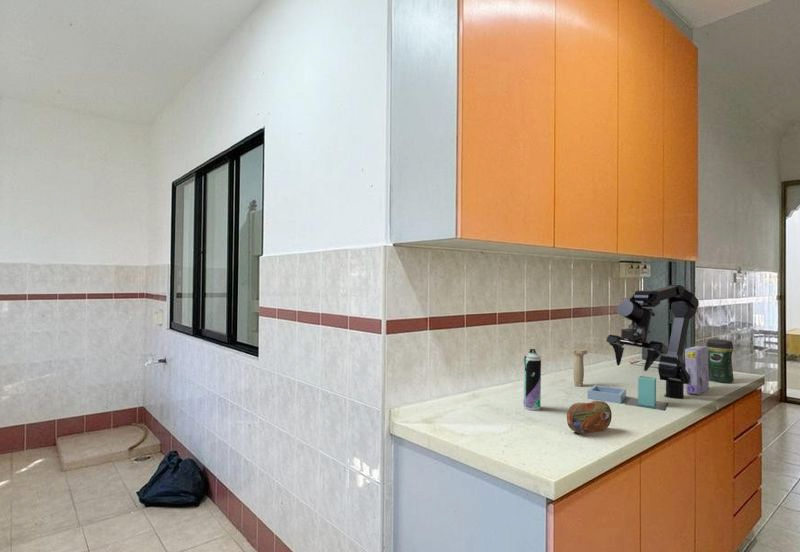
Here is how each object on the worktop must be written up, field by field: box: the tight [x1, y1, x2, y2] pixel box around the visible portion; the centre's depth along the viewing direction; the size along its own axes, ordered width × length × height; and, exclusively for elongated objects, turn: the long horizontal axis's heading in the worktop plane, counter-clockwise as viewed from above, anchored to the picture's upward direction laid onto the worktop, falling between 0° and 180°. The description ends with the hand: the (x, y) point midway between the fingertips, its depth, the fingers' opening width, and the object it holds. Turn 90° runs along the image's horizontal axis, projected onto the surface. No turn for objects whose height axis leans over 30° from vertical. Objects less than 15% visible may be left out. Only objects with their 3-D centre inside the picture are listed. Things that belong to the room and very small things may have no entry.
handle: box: [570, 347, 588, 387], centre depth 189 cm, size 5×6×15 cm
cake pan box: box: [684, 345, 710, 396], centre depth 183 cm, size 19×5×18 cm, turn 135°
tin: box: [566, 400, 613, 435], centre depth 130 cm, size 15×3×8 cm, turn 114°
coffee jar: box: [706, 338, 734, 384], centre depth 203 cm, size 10×8×19 cm
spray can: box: [523, 348, 542, 411], centre depth 153 cm, size 6×6×20 cm
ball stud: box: [625, 397, 669, 412], centre depth 159 cm, size 12×12×6 cm
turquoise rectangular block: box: [637, 375, 657, 406], centre depth 159 cm, size 5×5×9 cm
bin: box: [587, 384, 627, 404], centre depth 166 cm, size 11×11×4 cm
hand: (631, 367), depth 157 cm, fingers open, 9 cm apart
